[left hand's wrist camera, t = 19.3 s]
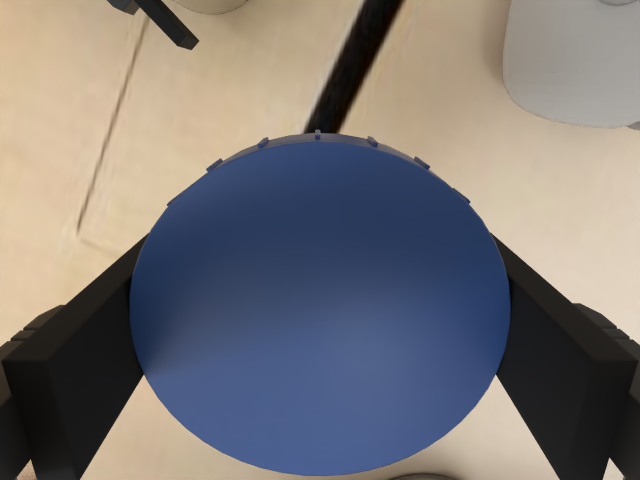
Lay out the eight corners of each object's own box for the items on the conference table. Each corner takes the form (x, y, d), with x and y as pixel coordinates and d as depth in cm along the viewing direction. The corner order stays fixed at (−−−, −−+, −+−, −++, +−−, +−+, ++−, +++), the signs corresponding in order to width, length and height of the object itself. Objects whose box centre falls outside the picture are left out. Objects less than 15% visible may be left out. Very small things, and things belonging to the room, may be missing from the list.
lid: (79, 251, 11) (40, 278, 10) (385, 49, 10) (398, 42, 8) (274, 474, 14) (268, 522, 12) (540, 346, 12) (572, 384, 11)
